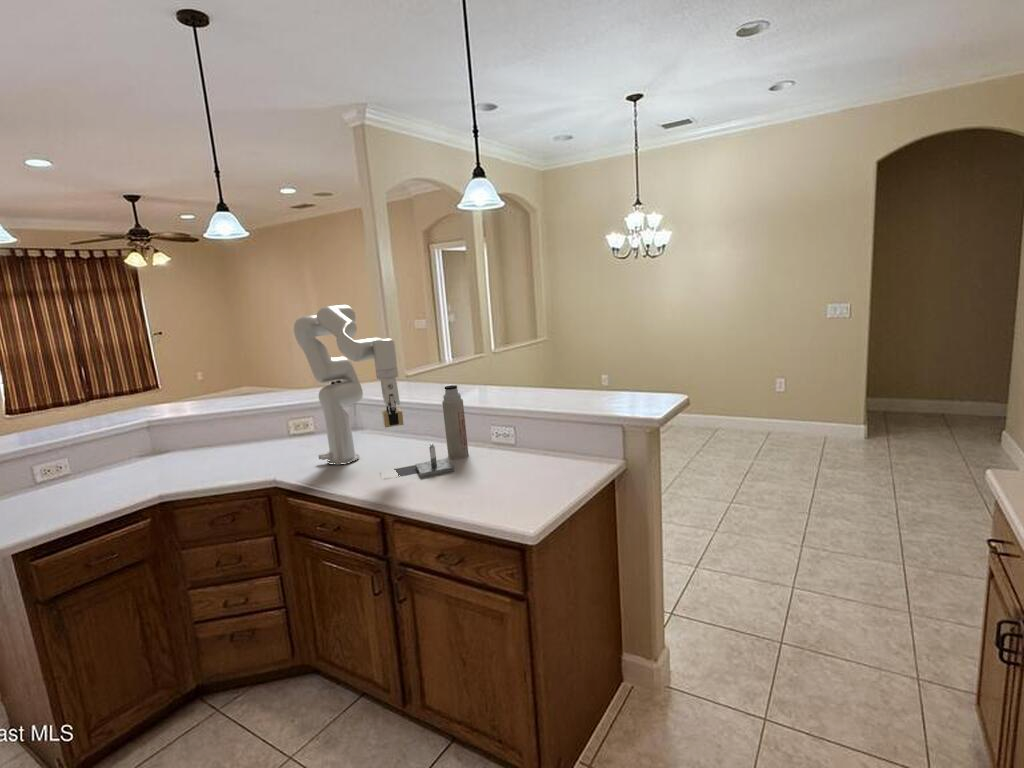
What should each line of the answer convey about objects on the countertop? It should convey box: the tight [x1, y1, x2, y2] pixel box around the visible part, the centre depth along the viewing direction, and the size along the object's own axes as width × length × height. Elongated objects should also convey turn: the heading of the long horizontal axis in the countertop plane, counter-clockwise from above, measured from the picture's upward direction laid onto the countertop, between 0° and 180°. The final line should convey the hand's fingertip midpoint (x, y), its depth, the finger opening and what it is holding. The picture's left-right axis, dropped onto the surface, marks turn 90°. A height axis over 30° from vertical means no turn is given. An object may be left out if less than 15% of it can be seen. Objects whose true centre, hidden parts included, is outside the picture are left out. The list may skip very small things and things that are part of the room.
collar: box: [381, 407, 405, 429], centre depth 191 cm, size 6×6×5 cm
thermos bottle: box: [441, 384, 469, 459], centre depth 207 cm, size 8×8×28 cm
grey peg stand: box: [414, 443, 455, 479], centre depth 193 cm, size 12×12×10 cm
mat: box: [393, 464, 419, 478], centre depth 194 cm, size 14×10×1 cm
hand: (393, 422), depth 191 cm, fingers closed on collar, 6 cm apart
